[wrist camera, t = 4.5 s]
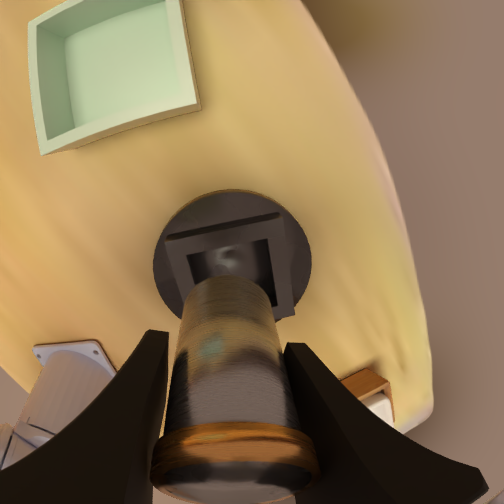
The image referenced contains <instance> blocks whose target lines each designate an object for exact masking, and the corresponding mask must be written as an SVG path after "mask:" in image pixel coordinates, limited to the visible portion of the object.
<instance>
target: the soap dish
mask: <svg viewBox="0 0 504 504" xmlns="http://www.w3.org/2000/svg"><path fill="white" fill-rule="evenodd" d="M340 382H341V383H342V384H343V385H344V386H345V387H346V388H347V389H348V390H349V391H350V392H351V393H352V394H353V395H354V396H355V397H356V398H357V399H359V400H360V401H361V402H362V403H363V404H364V405H365V406H366V407H367V408H369V409H370V410H371V411H372V412H373V413H374V414H376V415H377V416H378V417H379V418H381V419H382V420H383V421H385V422H386V423H387V424H389V425H390V426H391V427H393V428H394V422H395V417H394V408H393V401H392V394H391V388H390V383H389V381H388V380H386V379H384V378H382V377H381V376H379V375H377V374H375V373H374V372H372V371H370V370H368V369H364V370H361V371H359V372H358V373H356V374H354V375H352V376H350V377H348V378H346V379H344V380H342V381H340Z"/></svg>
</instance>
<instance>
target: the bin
mask: <svg viewBox="0 0 504 504" xmlns="http://www.w3.org/2000/svg"><path fill="white" fill-rule="evenodd" d="M28 65H29V80H30V91H31V100H32V108H33V115H34V122H35V128H36V134H37V139H38V144H39V149H40V154H41V156H44V155H48V154H53V153H57V152H62V151H66V150H71V149H76V148H78V147H81V146H83V145H86V144H88V143H91V142H94V141H96V140H99V139H102V138H105V137H108V136H111V135H113V134H116V133H119V132H122V131H126V130H129V129H132V128H135V127H138V126H142V125H145V124H149V123H152V122H156V121H159V120H163V119H167V118H171V117H175V116H179V115H183V114H187V113H191V112H196V111H200V110H202V109H201V104H200V99H199V94H198V88H197V83H196V77H195V72H194V66H193V61H192V55H191V50H190V44H189V38H188V32H187V27H186V21H185V15H184V9H183V3H182V0H67V1H65V2H63V3H61V4H59V5H58V6H56V7H54V8H52V9H50V10H48V11H47V12H45V13H43V14H41V15H40V16H38V17H36V18H35V19H33V20H32V21H30V22H28Z"/></svg>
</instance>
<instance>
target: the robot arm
mask: <svg viewBox="0 0 504 504" xmlns="http://www.w3.org/2000/svg"><path fill="white" fill-rule="evenodd" d="M168 342H169V332H164V331H157V330H150V329H149V330H148V331H146V332H145V334H144V336H143V337H142V339H141V341H140V342H139V344H138V345H137V347H136V348H135V350H134V351H133V352H132V354H131V355H130V357H129V358H128V359H127V361H126V362H125V363H124V364H123V366H122V367H121V368H120V370H119V371H118V372H117V373H116V371H115V370H114V368H113V367H112V365H111V363H110V362H109V360H108V359H107V357H106V355H105V354H104V352H103V350H102V348H101V347H100V345H99V344H98V343H97V342H96V341H83V342H74V343H63V344H51V345H38V346H34V347H33V348H32V351H33V353H34V354H35V356H36V357H37V359H38V360H39V362H40V363H41V365H42V366H43V369H42V371H41V373H40V375H39V377H38V379H37V381H36V383H35V385H34V387H33V389H32V391H31V393H30V395H29V397H28V399H27V402H26V404H25V406H24V408H23V410H22V413H21V415H20V417H19V420H18V422H17V423H16V425H15V426H14V428H13V427H12V426H11V425H10V424H8V423H5V424H0V504H152V497H153V485H152V484H151V482H150V478H149V476H150V468H151V460H152V452H153V447H154V444H155V443H156V441H157V440H158V439H159V435H160V429H161V424H162V419H163V414H164V409H165V403H166V393H167V382H168ZM97 351H98V352H97ZM283 357H284V361H285V365H286V369H287V373H288V378H289V382H290V386H291V390H292V394H293V398H294V402H295V406H296V411H297V415H298V419H299V423H300V427H301V431H302V433H304V434H306V435H307V436H308V437H310V439H311V440H312V441H313V444H314V448H315V452H316V456H317V460H318V464H319V467H320V471H321V477H320V479H319V480H318V481H317V483H316V484H314V485H313V486H312V487H310V488H309V489H307V490H306V491H304V492H302V493H300V494H297V495H295V499H296V504H472V503H473V502H474V501H476V500H477V499H479V498H480V497H481V496H483V495H484V494H485V493H486V492H487V491H488V489H489V487H488V485H487V483H486V481H485V479H484V478H483V476H482V474H481V472H480V470H479V469H478V468H476V467H472V466H469V465H466V464H463V463H459V462H456V461H454V460H451V459H449V458H446V457H444V456H442V455H439V454H437V453H435V452H433V451H431V450H429V449H427V448H425V447H423V446H421V445H419V444H418V443H416V442H414V441H413V440H411V439H409V438H408V437H406V436H404V435H403V434H401V433H400V432H398V431H397V430H395V429H394V428H393V427H391V426H390V425H389V424H387V423H386V422H385V421H383V420H382V419H381V418H379V417H378V416H377V415H376V414H374V413H373V412H372V411H371V410H370V409H369V408H367V407H366V406H365V405H364V404H363V403H362V402H361V401H360V400H359V399H357V398H356V397H355V396H354V395H353V394H352V393H351V392H350V391H349V390H348V389H347V388H346V387H345V386H344V385H343V384H342V383H341V382H340V381H339V380H338V379H337V377H336V376H335V375H334V374H333V373H332V372H331V371H330V370H329V369H328V368H327V367H326V366H325V364H324V363H323V362H322V361H321V360H320V359H319V358H318V357H317V356H316V354H315V353H314V352H313V351H312V350H311V349H310V348H309V347H308V346H307V345H306V344H305V343H290V342H287V344H286V347H285V350H284V353H283ZM484 504H504V489H503V490H501V491H500V492H499V493H498V494H497V495H495V496H494V497H492V498H491V499H489V500H488V501H487V502H485V503H484Z"/></svg>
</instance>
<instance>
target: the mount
mask: <svg viewBox="0 0 504 504" xmlns="http://www.w3.org/2000/svg"><path fill="white" fill-rule="evenodd" d="M153 272H154V279H155V283H156V286H157V289H158V291H159V294H160V296H161V298H162V299H163V301H164V302H165V304H166V305H167V306H168V308H169V309H170V310H171V311H172V312H173V313H174V314H175V315H176V316H177V317H178V318H180V319H181V320H182V314H183V309H184V304H185V301H186V298H187V296H188V294H189V293H190V291H191V290H192V289H193V288H194V287H195V286H196V285H198V284H199V283H200V282H202V281H204V280H206V279H208V278H211V277H215V276H220V275H235V276H240V277H243V278H246V279H249V280H251V281H253V282H254V283H256V284H257V285H259V286H260V287H261V288H262V289H263V290H264V292H265V293H266V294H267V296H268V298H269V301H270V304H271V308H272V312H273V316H274V320H275V323H276V322H277V321H279V320H281V319H282V318H284V317H289V316H293V315H295V310H294V307H295V306H296V304H297V303H298V302H299V300H300V299H301V297H302V295H303V294H304V292H305V289H306V287H307V285H308V282H309V278H310V274H311V251H310V246H309V243H308V240H307V237H306V235H305V233H304V231H303V229H302V228H301V226H300V225H299V224H298V222H297V221H296V220H295V218H294V217H293V216H292V215H291V214H290V213H289V212H288V211H287V210H286V209H285V208H284V207H283V206H281V205H280V204H279V203H277V202H276V201H274V200H272V199H271V198H269V197H267V196H264V195H262V194H259V193H256V192H252V191H247V190H239V189H227V190H220V191H214V192H211V193H207V194H204V195H202V196H200V197H197V198H195V199H194V200H192V201H190V202H189V203H187V204H186V205H184V206H183V207H182V208H181V209H179V210H178V211H177V212H176V213H175V214H174V215H173V217H172V218H171V219H170V220H169V222H168V223H167V225H166V226H165V228H164V230H163V232H162V234H161V236H160V238H159V240H158V243H157V246H156V249H155V253H154V259H153Z"/></svg>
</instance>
